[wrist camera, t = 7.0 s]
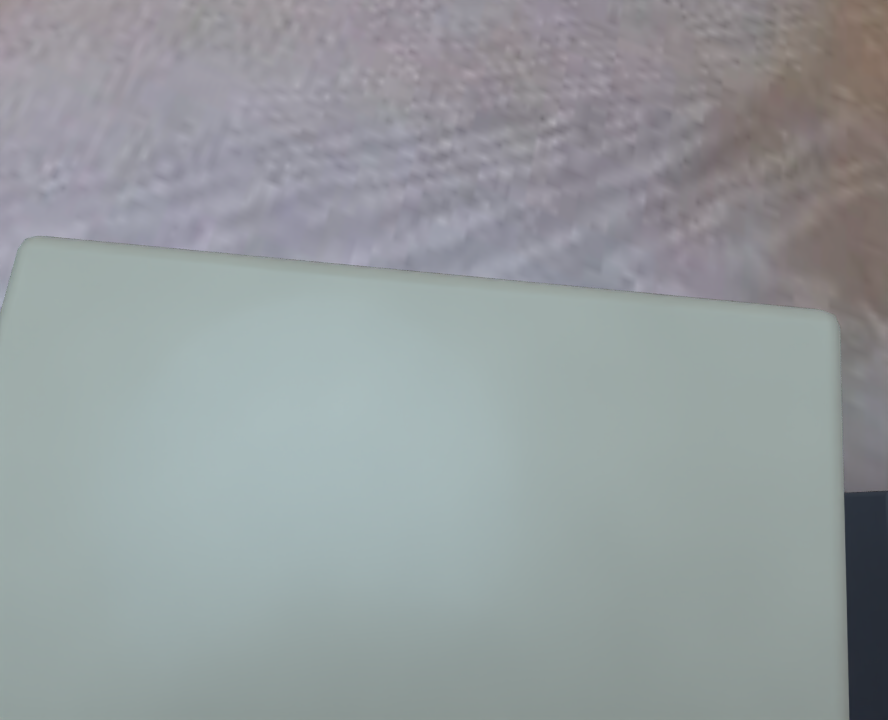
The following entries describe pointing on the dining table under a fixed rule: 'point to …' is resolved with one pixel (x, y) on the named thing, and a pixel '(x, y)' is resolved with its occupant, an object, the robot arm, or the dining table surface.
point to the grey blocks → (867, 603)
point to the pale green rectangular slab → (410, 496)
